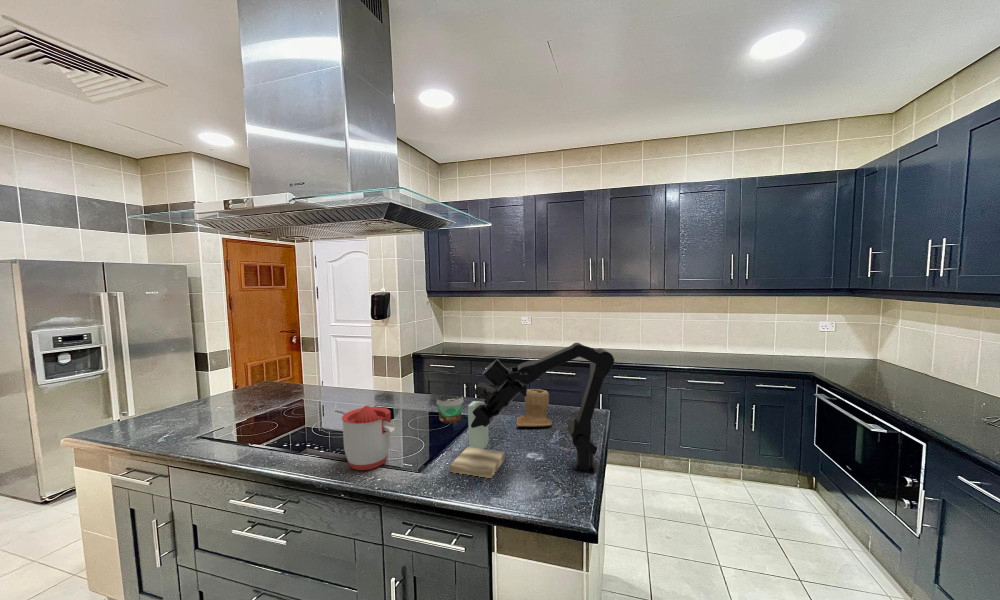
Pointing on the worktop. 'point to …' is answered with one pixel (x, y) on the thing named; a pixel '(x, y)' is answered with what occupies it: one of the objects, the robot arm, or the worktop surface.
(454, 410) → the food container
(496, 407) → the robot arm
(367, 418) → the citrus juicer
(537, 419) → the stone cup
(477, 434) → the sage block
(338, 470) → the worktop surface
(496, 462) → the birch base
